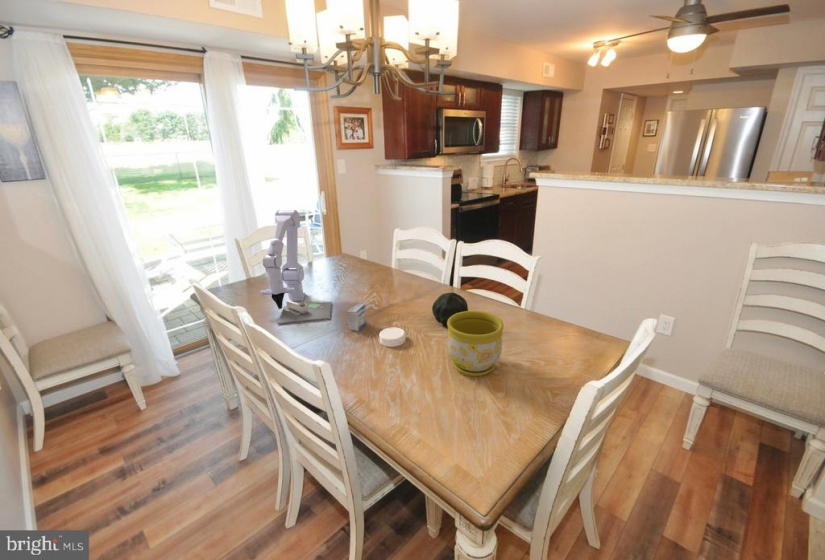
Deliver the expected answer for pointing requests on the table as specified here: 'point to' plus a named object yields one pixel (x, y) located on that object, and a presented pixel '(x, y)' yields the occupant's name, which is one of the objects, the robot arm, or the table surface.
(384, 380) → the table surface
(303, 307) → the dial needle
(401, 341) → the coaster
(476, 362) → the flowerpot
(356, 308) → the medicine box
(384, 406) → the table surface
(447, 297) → the squash
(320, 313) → the dial base
